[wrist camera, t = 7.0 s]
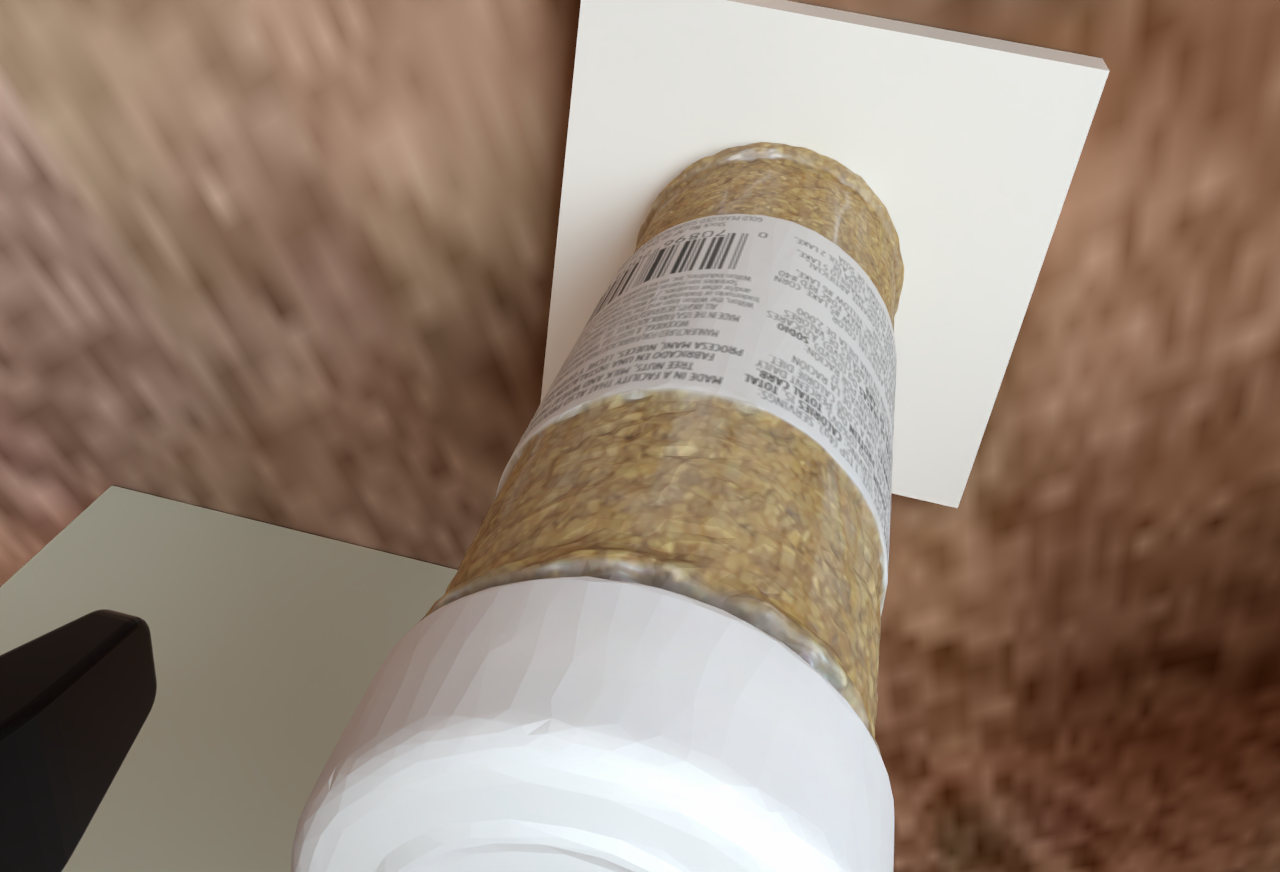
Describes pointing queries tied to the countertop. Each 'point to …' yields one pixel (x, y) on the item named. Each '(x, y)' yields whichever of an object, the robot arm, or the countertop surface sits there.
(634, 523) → the seasoning jar
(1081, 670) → the countertop surface
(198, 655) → the pale green board
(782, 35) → the tile pad
